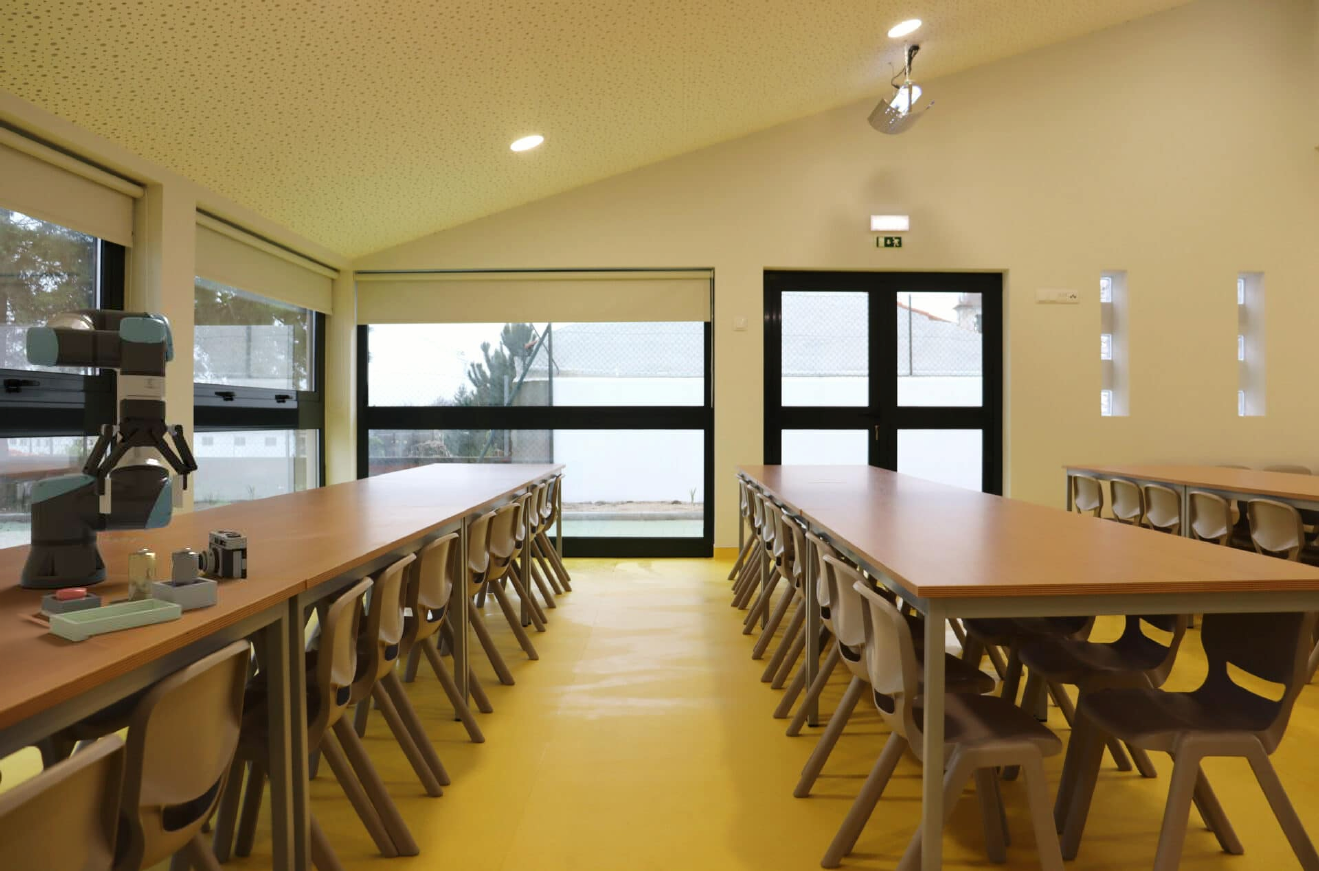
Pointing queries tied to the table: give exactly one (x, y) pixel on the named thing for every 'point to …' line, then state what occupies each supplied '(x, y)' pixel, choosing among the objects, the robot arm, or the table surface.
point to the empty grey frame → (119, 600)
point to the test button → (70, 593)
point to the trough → (112, 618)
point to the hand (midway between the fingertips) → (142, 510)
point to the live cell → (141, 575)
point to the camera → (225, 555)
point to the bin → (187, 593)
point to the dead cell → (185, 567)
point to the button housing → (68, 604)
